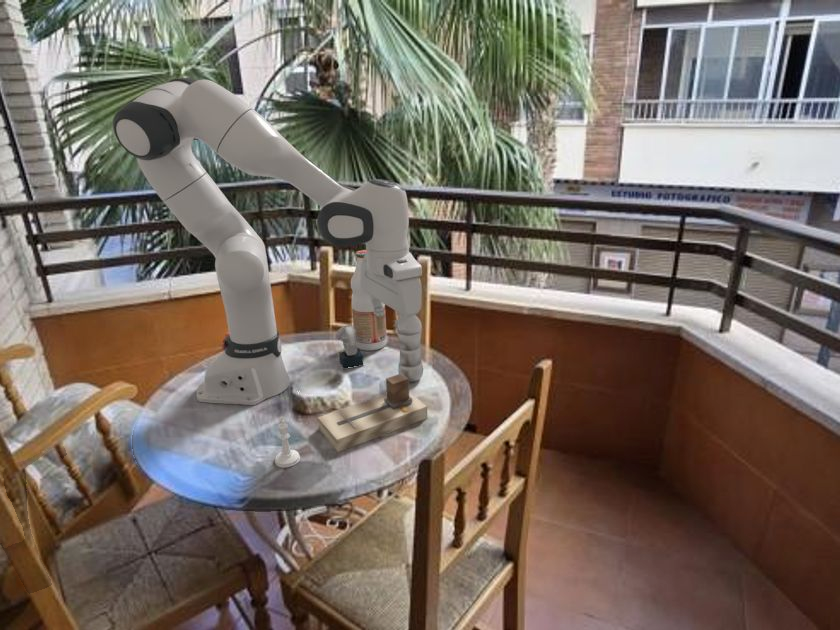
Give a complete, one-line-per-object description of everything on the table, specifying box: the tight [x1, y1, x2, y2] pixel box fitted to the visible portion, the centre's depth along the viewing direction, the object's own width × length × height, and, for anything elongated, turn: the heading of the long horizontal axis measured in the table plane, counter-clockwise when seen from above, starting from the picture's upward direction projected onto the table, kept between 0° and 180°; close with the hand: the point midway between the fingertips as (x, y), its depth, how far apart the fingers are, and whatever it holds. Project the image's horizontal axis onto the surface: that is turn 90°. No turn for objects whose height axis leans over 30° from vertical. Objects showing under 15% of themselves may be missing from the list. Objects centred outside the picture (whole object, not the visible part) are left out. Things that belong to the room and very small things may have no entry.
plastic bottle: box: [396, 314, 424, 383], centre depth 134 cm, size 6×7×20 cm
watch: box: [336, 324, 364, 369], centre depth 144 cm, size 6×8×11 cm
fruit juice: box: [350, 249, 388, 352], centre depth 152 cm, size 9×9×28 cm
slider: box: [384, 373, 412, 409], centre depth 120 cm, size 5×4×6 cm
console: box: [317, 391, 428, 453], centre depth 119 cm, size 22×10×3 cm, turn 123°
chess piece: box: [274, 416, 301, 468], centre depth 106 cm, size 5×5×10 cm
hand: (389, 321), depth 116 cm, fingers open, 8 cm apart
